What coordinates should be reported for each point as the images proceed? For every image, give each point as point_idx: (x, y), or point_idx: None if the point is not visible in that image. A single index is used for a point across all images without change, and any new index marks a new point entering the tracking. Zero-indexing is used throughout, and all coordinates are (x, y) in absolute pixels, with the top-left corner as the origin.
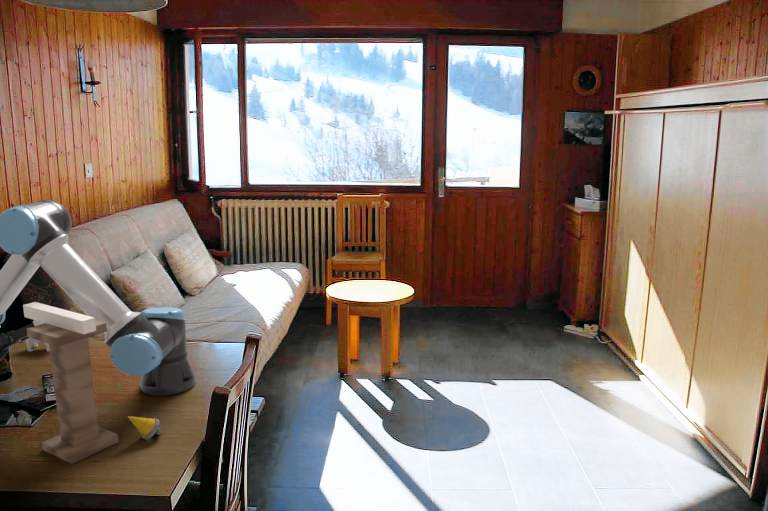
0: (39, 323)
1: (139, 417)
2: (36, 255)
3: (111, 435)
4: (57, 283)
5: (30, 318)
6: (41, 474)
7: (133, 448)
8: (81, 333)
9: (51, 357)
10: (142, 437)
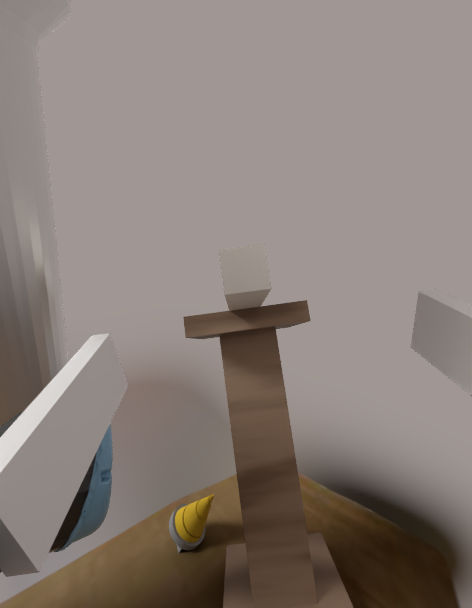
0: (81, 434)
1: (197, 501)
2: (68, 15)
3: (235, 549)
4: (15, 200)
5: (267, 294)
6: (379, 554)
7: (230, 532)
8: None
9: (282, 375)
10: (202, 538)
